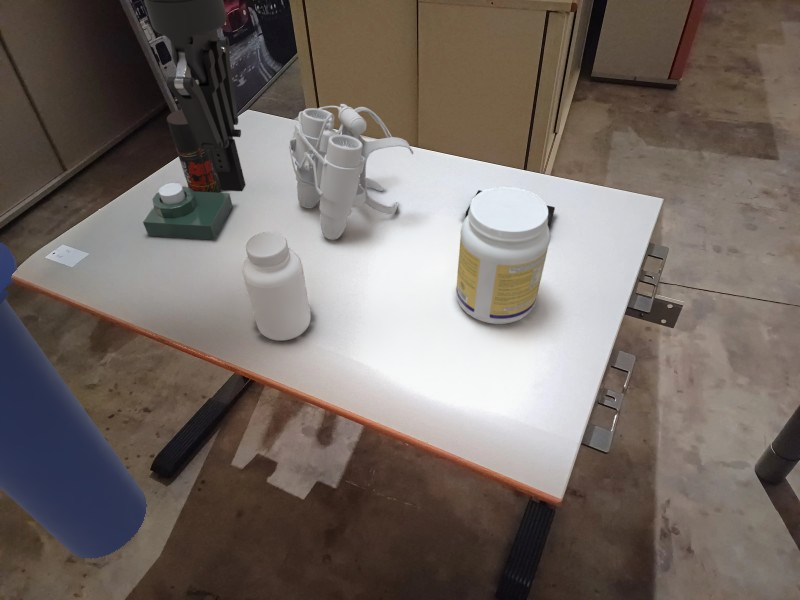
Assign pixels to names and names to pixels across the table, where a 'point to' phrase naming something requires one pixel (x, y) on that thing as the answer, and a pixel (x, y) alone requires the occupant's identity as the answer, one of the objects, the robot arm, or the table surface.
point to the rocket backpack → (336, 164)
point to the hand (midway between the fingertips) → (233, 187)
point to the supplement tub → (502, 254)
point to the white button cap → (172, 193)
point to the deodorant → (193, 156)
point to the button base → (189, 215)
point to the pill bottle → (276, 287)
